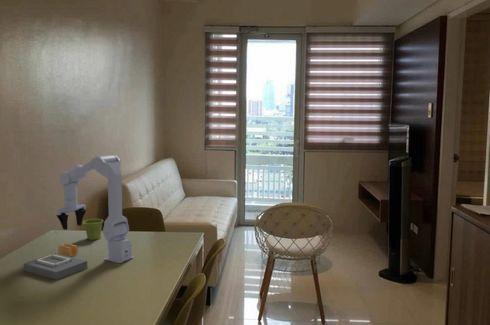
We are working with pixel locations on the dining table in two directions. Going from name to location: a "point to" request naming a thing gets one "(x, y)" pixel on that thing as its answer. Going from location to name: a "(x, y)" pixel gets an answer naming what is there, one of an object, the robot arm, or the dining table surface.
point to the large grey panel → (55, 266)
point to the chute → (68, 250)
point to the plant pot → (93, 228)
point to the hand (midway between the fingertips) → (72, 227)
